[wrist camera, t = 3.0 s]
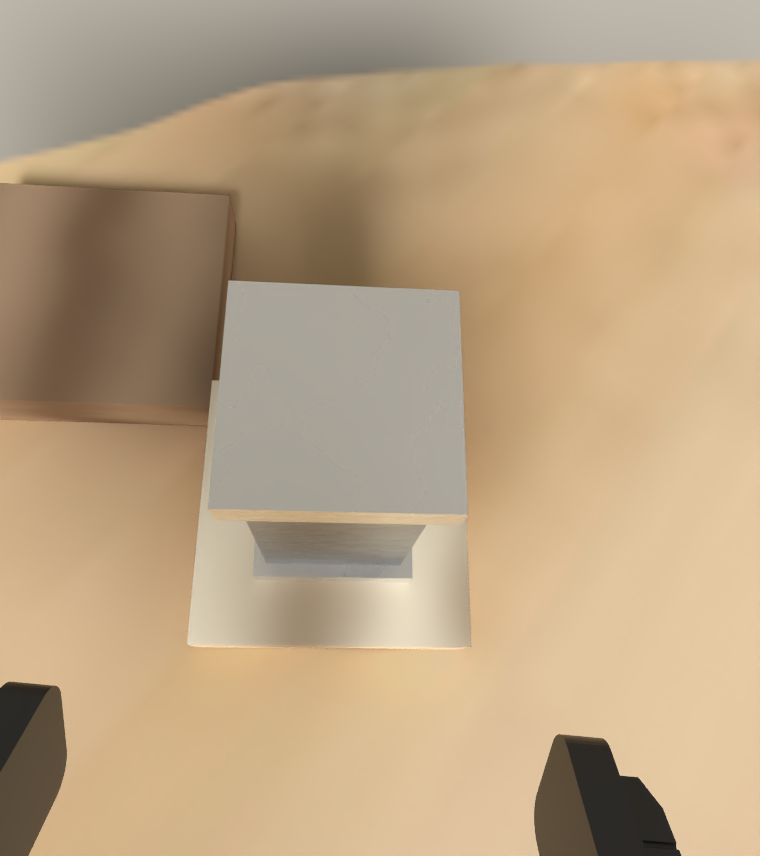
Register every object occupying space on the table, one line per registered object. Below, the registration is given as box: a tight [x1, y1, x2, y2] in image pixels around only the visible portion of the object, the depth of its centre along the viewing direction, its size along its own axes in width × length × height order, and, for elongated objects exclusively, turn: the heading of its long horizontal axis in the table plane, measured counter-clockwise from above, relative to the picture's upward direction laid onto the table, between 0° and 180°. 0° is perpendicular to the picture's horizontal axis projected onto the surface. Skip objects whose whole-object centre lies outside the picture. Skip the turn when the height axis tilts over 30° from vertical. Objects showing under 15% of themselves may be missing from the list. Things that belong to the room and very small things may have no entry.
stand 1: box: [0, 183, 236, 426], centre depth 27 cm, size 9×9×2 cm
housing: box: [208, 280, 468, 583], centre depth 19 cm, size 5×5×10 cm
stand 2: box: [187, 380, 471, 649], centre depth 25 cm, size 9×9×2 cm
